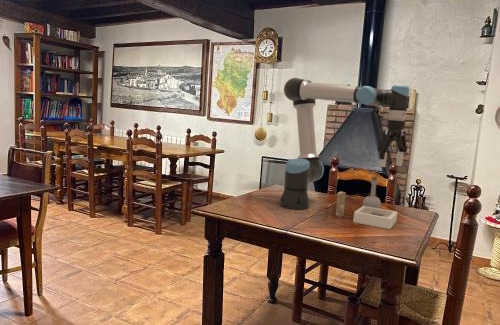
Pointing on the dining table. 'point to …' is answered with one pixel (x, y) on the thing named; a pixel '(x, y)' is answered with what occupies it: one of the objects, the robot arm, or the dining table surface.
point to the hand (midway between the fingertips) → (390, 166)
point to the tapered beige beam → (340, 204)
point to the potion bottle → (372, 196)
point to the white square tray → (375, 217)
